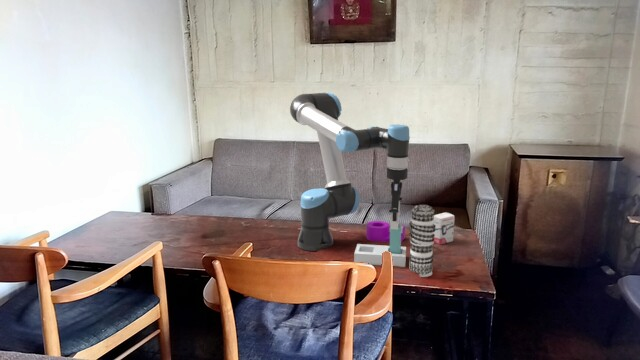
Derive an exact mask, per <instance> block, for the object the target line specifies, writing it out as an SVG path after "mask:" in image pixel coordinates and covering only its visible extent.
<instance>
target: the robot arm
mask: <svg viewBox="0 0 640 360" xmlns="http://www.w3.org/2000/svg"><path fill="white" fill-rule="evenodd" d="M289 114H290V116H291V117H292V119H293V120H294V121H295V122H297V123H298V124H300V125H302V126H308V127H309V128H311V129H313V130H315V131H316V134H317V138H318V139H317V140H318V143H319V147H320V153H321V158H322V164H323V167H324V173H325V178H326V184H325V186H324V188H320V187H319V188H318V187H317V188H311V189H309V190H306V191H304V192H303V193H302V195H301V196H300V203H299V204H300V218H301V219H300V220H301V222H300V223H301V224H300V225H301V227H300V232H299V234H298V236H297V237H298V238H297V247H299V248H300V249H301V250H304V251H309V252H310V251H311V252H319V250H322V249H327V248H330V247H331V246H333V244H334V237H333V234H332V232H331V229H330V219H334V218H338V217H342V216H348V215H350V214H354V213H355V212H356V211H357V210H358V208H359V206H360V201H361V199H360V193H359V190H357V188H356V187H355V186H352V182H351V181H350V180H348V179H347V175H346V169H345V165H344V161H343V159H344V158H343V155H342V153H353V152H359V151H365V150H366V151H367V150H373V149H382V150H387V153H386V154H387V156H386V167H387V168H386V179H389V180H392V181H391V183H390V189H391V191H390V192H391V208H390V209H389V210H388V211H389V213H390V225H391V226H390V225H389V230H390V229H397V230H398V224H399V218H400V212H401V211H400V210H401V201H402V200H403V198H402V197H401V194H402V193H401V192H402V188H403V182H401V181H404V180H407V179H408V175H409V174H408V173H409V171H408V166H409V165H408V163H409V162H411V160H410V158H409V148H410V147H409V146H410V138H411V137H410V127H409V126H408V125H406V124H390V125H389V126H388V128H384V127H379V126H369V127H367V128H365V129H354V128H352V127H351V126H348V125H347V124H344V123H342V122H341V121H339V118H340V117H341V115H342V103H341V100H340V98H339V97H338V96H337V95H335V94H334V93H331V92H316V93H315V92H314V93H302V94H299V95H297V96H295V97H294V98H293V99H292V101H291V103H290V105H289Z"/></svg>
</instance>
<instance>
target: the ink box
mask: <svg viewBox="0 0 640 360" xmlns="http://www.w3.org/2000/svg"><path fill="white" fill-rule="evenodd" d="M455 219H456V218H455V215H454V214H452V213H450V212H447V211H446V212H442V213H438V214H434V225H436V227H435V228H434V229H435V232H433V234H434V235H435V236H434V237H433V238H434V244H437V245H439V246H441V245H443V244H446V243H450V242H453V241H454V233H455V231H454V230H455Z"/></svg>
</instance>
